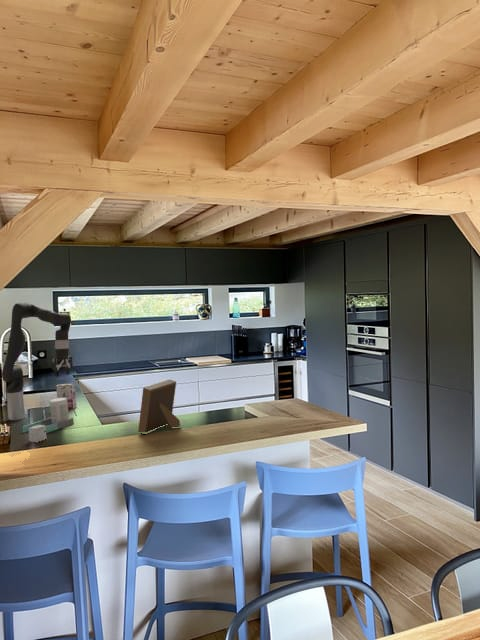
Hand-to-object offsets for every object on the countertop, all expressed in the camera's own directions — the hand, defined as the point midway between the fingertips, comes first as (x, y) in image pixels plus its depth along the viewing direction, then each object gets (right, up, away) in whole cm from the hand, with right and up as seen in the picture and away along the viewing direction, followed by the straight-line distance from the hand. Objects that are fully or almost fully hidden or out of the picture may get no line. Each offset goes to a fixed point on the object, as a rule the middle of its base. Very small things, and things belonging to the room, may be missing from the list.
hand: (62, 375), depth 275 cm
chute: (-6, -30, -4) cm, 30 cm away
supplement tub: (-2, -29, +3) cm, 29 cm away
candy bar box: (-13, -27, +43) cm, 53 cm away
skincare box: (-2, -31, -27) cm, 41 cm away
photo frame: (+62, -26, -24) cm, 72 cm away
